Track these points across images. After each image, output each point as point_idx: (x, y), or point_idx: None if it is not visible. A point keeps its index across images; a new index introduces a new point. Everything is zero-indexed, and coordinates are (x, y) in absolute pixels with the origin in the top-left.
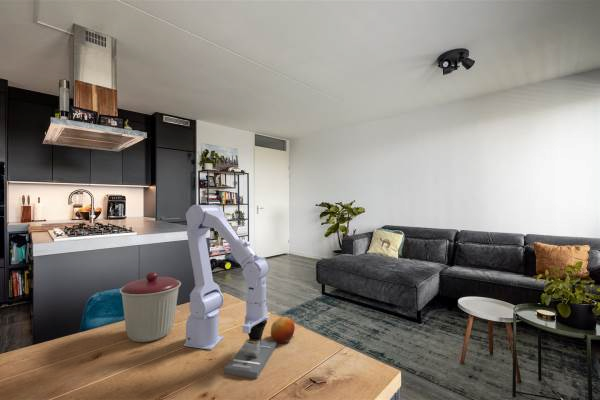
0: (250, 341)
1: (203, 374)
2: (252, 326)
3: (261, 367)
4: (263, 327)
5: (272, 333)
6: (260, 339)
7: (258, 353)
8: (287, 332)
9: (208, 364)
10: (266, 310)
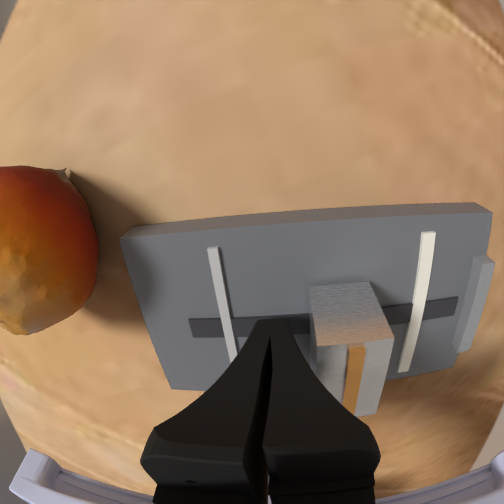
0: (356, 392)
1: (443, 397)
2: (495, 491)
3: (431, 210)
4: (249, 423)
5: (83, 297)
6: (266, 348)
7: (341, 288)
8: (32, 192)
9: (388, 418)
10: (35, 478)
